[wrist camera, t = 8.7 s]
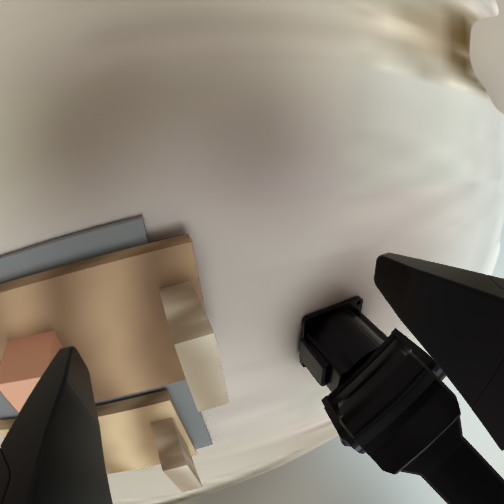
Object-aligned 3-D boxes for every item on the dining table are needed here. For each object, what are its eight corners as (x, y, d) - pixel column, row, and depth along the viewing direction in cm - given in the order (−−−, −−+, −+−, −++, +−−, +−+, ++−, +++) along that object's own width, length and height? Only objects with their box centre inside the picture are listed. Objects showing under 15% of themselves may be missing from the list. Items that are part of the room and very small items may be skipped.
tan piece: (166, 389, 24) (185, 450, 18) (194, 445, 29) (212, 492, 24) (-2, 420, 18) (-7, 474, 13) (54, 471, 23) (58, 515, 18)
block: (54, 330, 16) (47, 375, 13) (78, 372, 18) (78, 416, 15) (7, 341, 15) (-5, 384, 12) (33, 381, 17) (29, 424, 14)
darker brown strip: (187, 233, 19) (217, 287, 14) (213, 359, 24) (241, 419, 19) (-50, 299, 13) (-81, 359, 8) (20, 403, 19) (15, 463, 13)
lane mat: (141, 215, 18) (142, 218, 17) (211, 440, 31) (212, 444, 30) (-86, 288, 12) (-89, 291, 11) (60, 470, 25) (60, 474, 24)
